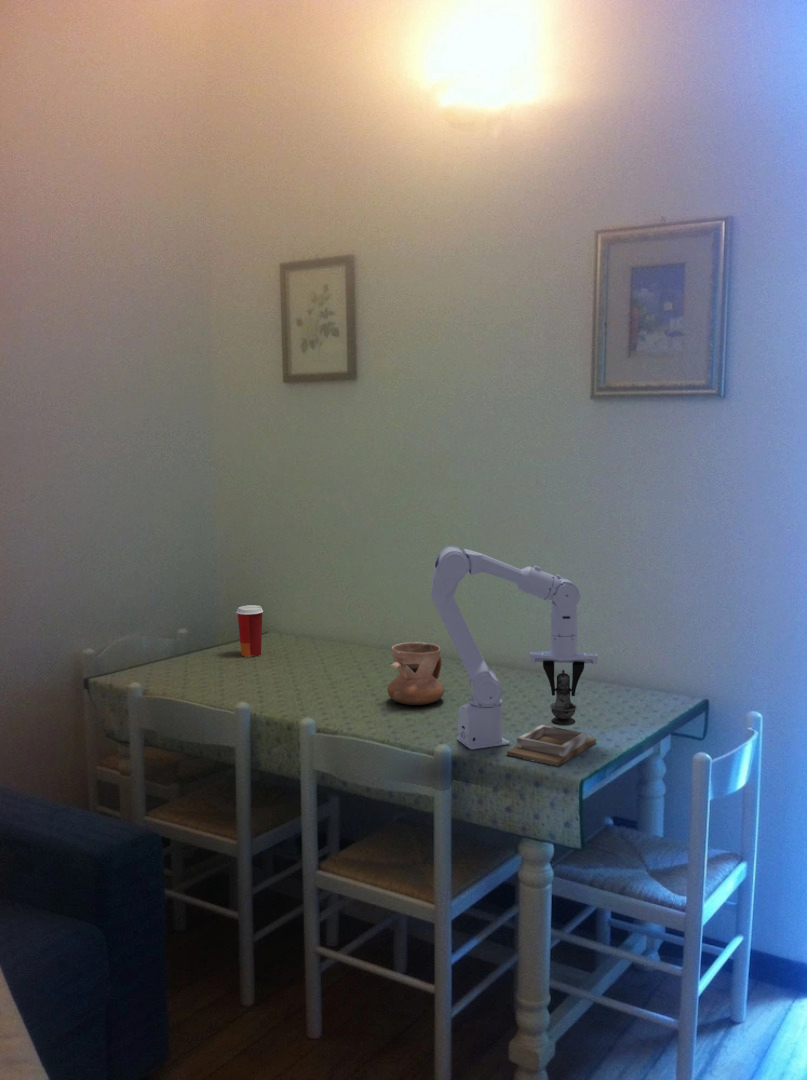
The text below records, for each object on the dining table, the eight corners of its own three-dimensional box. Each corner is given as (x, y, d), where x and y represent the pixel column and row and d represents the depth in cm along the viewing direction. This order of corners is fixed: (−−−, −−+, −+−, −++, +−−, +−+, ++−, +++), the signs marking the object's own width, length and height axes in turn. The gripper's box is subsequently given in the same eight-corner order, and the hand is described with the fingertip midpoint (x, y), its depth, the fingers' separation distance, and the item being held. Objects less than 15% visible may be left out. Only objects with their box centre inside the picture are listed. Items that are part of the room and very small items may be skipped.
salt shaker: (548, 717, 217) (547, 665, 215) (574, 716, 217) (574, 665, 215) (552, 726, 211) (551, 674, 209) (578, 726, 211) (578, 673, 209)
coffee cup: (265, 651, 302) (264, 604, 301) (263, 657, 294) (262, 609, 293) (238, 652, 302) (237, 605, 300) (236, 658, 294) (234, 610, 292)
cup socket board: (557, 766, 197) (558, 752, 197) (506, 755, 204) (506, 741, 204) (595, 742, 211) (596, 729, 211) (547, 733, 219) (547, 720, 218)
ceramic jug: (413, 714, 234) (413, 657, 233) (372, 702, 245) (372, 647, 243) (461, 700, 247) (462, 645, 246) (420, 689, 257) (421, 637, 256)
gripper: (596, 631, 214) (596, 690, 215) (530, 629, 216) (530, 688, 217) (598, 637, 207) (597, 699, 208) (530, 636, 209) (529, 697, 211)
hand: (563, 694), depth 212 cm, fingers closed on salt shaker, 4 cm apart
